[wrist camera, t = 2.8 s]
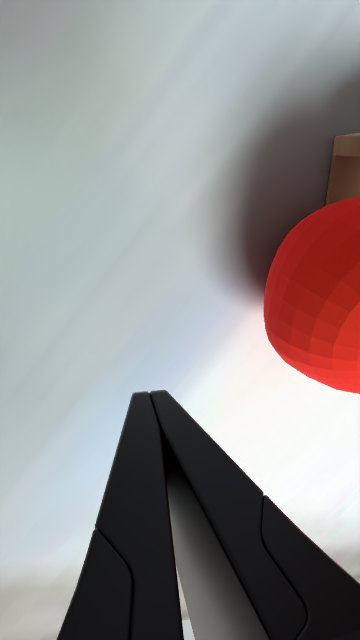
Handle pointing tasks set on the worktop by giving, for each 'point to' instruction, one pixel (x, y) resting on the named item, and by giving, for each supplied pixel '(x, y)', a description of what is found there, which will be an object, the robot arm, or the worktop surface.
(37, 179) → the worktop surface
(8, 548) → the worktop surface
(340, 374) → the tomato
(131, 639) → the robot arm
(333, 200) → the tray
